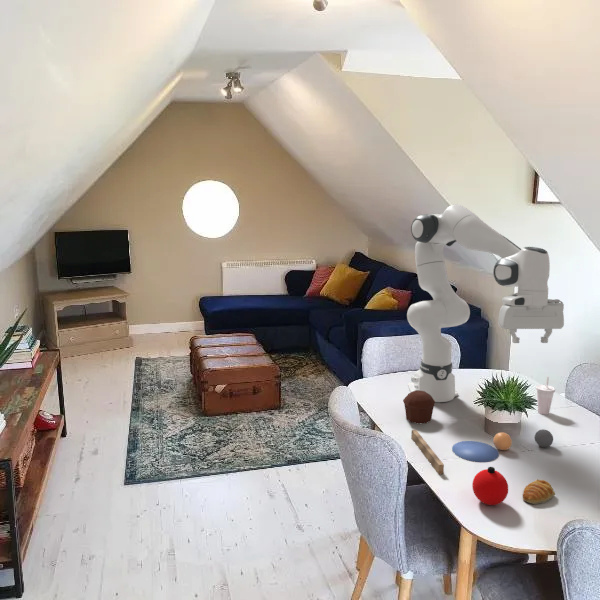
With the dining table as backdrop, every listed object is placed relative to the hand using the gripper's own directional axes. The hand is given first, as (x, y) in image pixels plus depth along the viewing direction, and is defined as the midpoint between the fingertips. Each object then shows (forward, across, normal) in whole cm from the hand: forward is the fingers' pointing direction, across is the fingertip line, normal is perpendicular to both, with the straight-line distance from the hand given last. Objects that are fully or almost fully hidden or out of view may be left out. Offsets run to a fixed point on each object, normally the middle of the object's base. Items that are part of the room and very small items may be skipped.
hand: (530, 342), depth 178 cm
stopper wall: (+35, +33, +2) cm, 48 cm away
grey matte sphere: (+31, -6, +1) cm, 31 cm away
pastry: (+37, +11, +28) cm, 48 cm away
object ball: (+31, +8, +2) cm, 32 cm away
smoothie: (+31, -20, -24) cm, 44 cm away
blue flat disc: (+34, +17, +2) cm, 38 cm away
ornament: (+38, +25, +30) cm, 54 cm away
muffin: (+32, +27, -25) cm, 49 cm away
